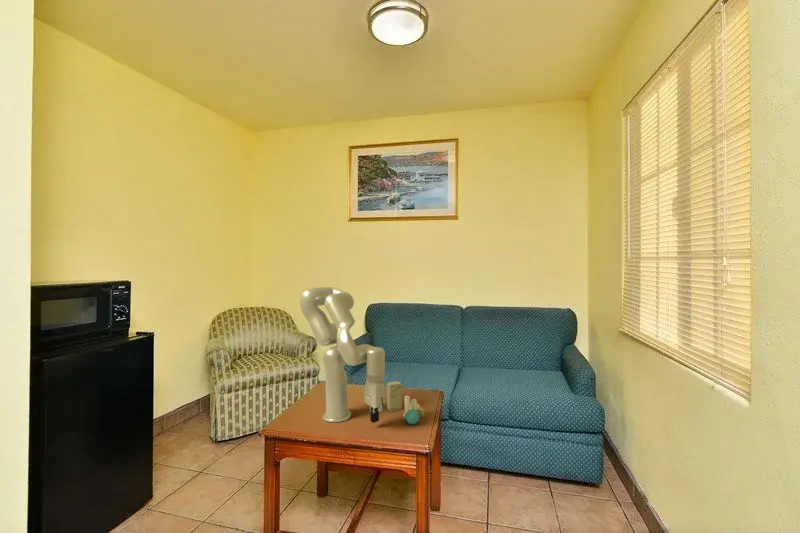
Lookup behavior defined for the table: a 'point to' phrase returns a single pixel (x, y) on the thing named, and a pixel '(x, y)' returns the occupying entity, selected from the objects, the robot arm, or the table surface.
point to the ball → (412, 416)
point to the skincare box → (394, 396)
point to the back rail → (420, 412)
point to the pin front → (409, 409)
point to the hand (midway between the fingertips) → (374, 421)
